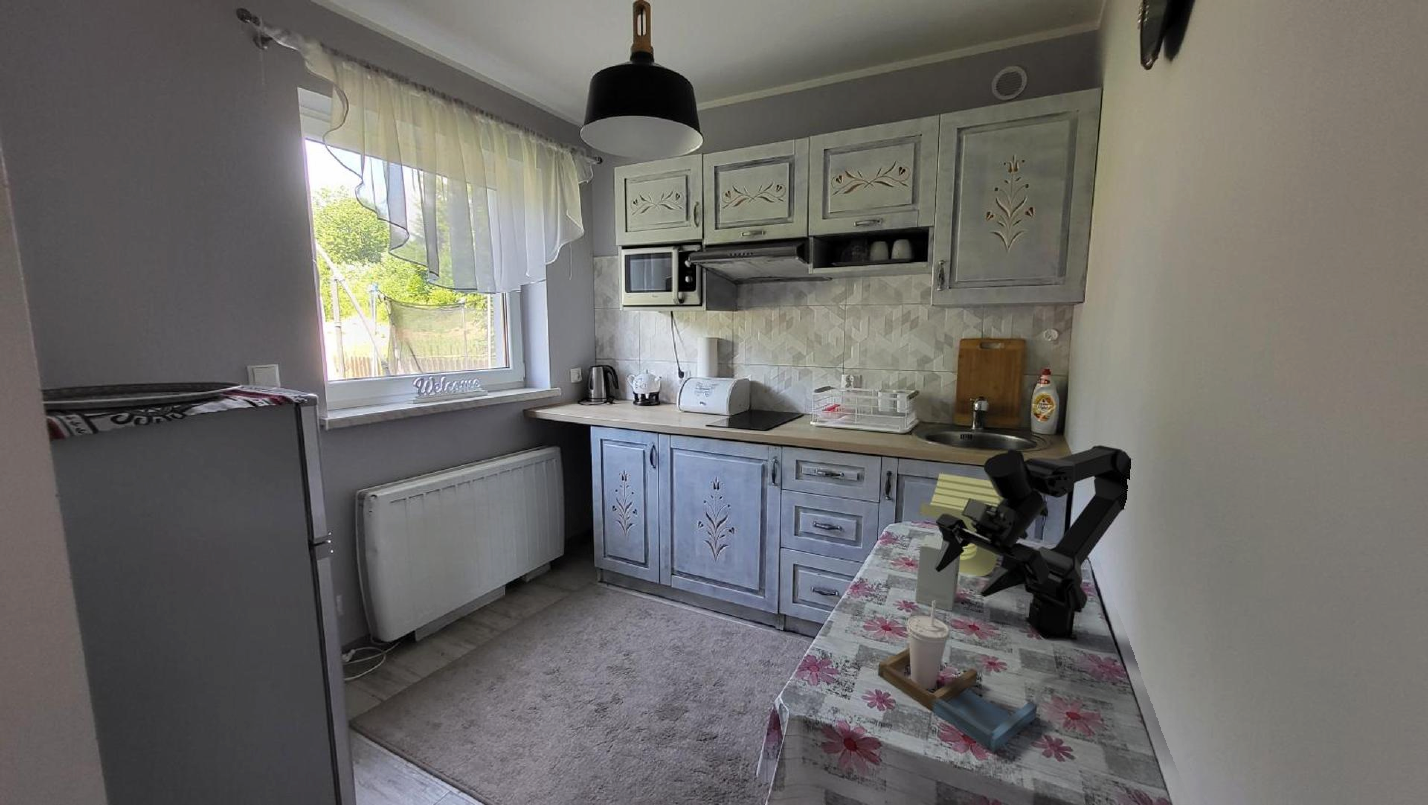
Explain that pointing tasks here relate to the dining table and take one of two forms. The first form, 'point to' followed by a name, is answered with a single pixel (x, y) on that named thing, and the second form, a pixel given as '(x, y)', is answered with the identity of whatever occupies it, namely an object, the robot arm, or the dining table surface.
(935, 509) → the slatted curved stool
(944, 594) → the supplement box
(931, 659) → the smoothie
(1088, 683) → the dining table surface
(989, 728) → the blue and brown frame
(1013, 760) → the dining table surface
